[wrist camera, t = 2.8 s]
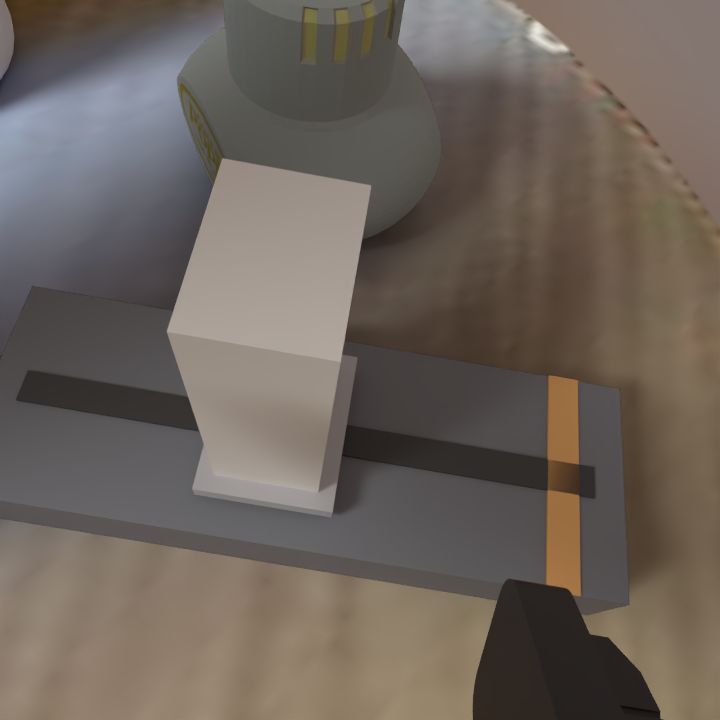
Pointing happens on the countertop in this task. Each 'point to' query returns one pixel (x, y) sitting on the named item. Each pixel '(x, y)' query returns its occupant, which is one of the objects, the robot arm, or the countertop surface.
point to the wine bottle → (5, 38)
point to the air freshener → (316, 98)
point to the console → (357, 468)
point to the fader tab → (271, 334)
